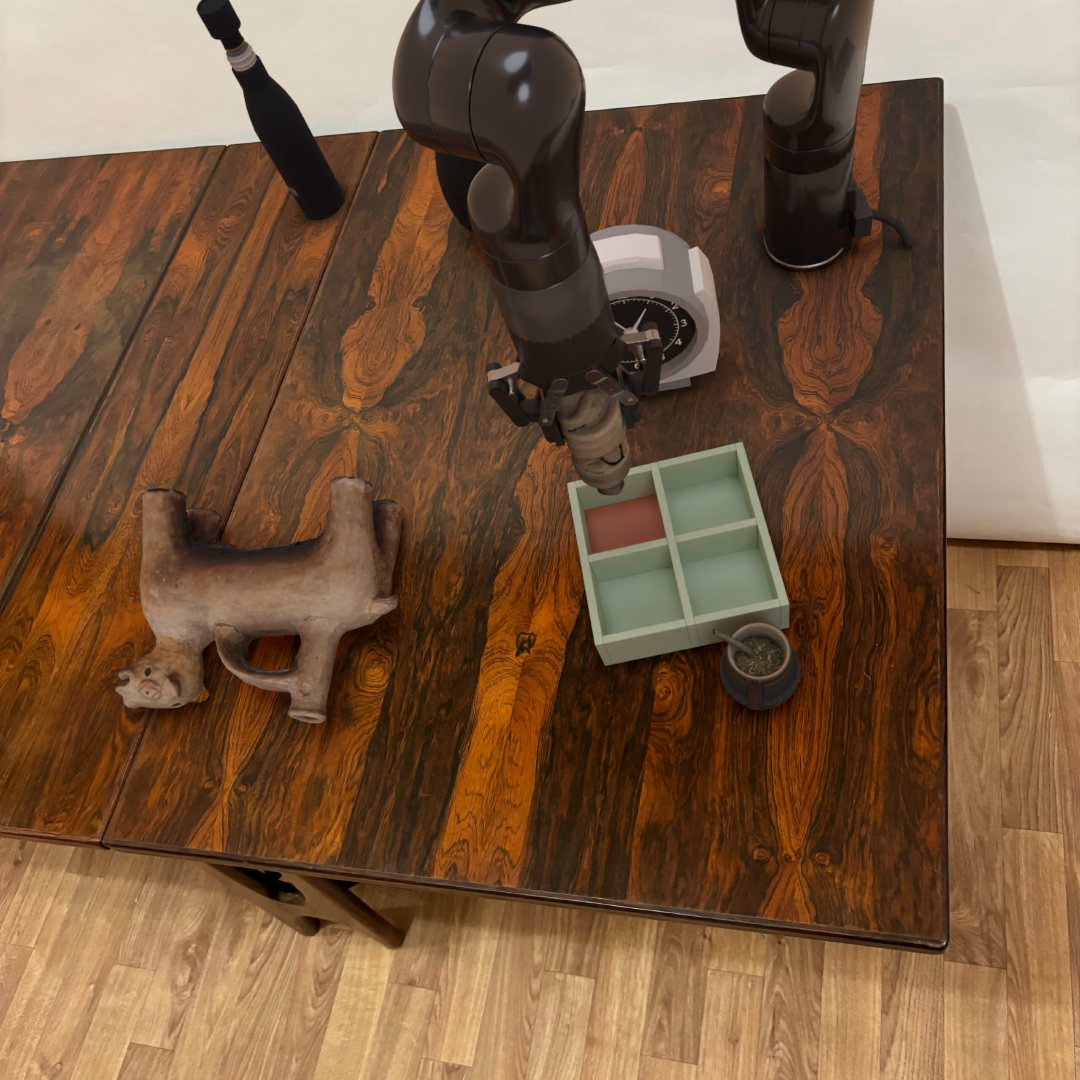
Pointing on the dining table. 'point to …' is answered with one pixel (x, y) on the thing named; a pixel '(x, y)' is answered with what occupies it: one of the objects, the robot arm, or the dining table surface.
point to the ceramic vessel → (258, 596)
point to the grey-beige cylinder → (596, 439)
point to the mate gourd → (759, 666)
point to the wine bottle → (275, 118)
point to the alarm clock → (662, 297)
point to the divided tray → (676, 556)
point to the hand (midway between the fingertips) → (594, 428)
